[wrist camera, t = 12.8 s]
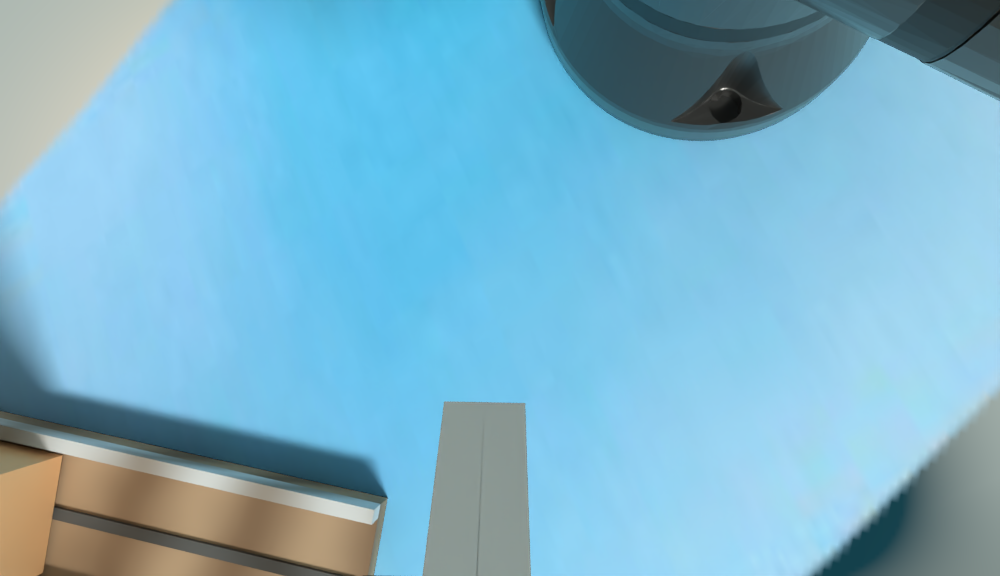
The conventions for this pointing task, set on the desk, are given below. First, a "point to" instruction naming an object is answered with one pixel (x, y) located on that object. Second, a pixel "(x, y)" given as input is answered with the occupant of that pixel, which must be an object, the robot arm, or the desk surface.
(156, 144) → the desk surface
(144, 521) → the track
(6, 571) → the tan box with band
